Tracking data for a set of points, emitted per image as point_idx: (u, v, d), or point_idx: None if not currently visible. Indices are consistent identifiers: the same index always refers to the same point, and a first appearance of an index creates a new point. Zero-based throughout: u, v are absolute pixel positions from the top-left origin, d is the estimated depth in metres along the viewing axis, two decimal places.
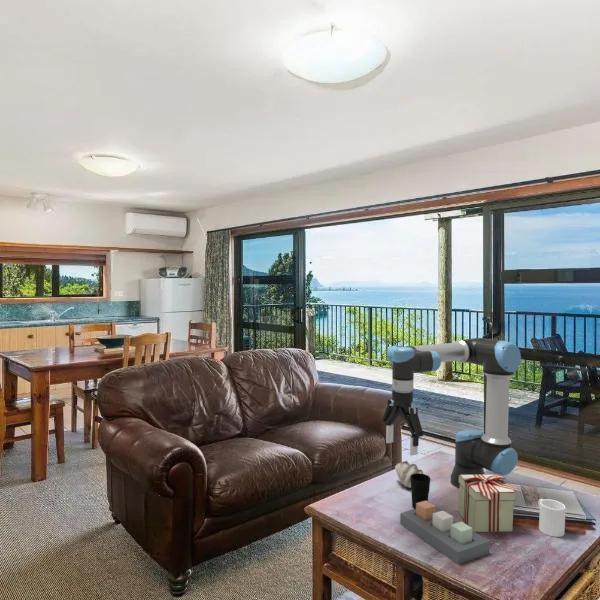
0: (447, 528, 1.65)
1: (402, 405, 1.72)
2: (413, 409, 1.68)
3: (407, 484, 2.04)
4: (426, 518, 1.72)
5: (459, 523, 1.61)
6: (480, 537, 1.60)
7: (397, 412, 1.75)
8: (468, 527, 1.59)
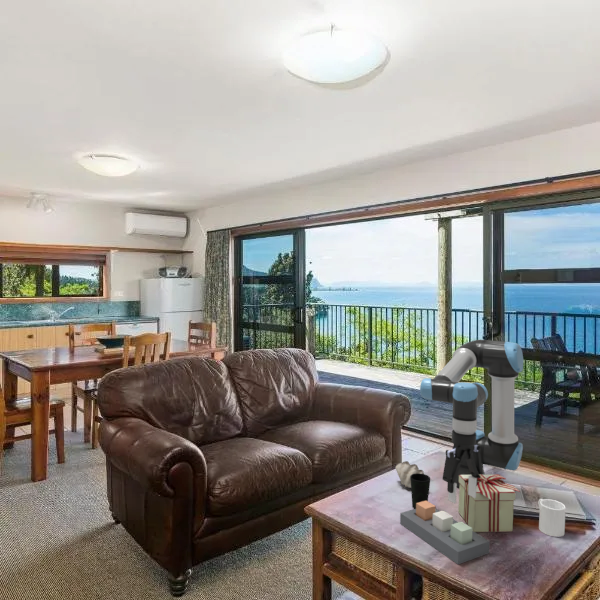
0: (447, 528, 1.65)
1: None
2: (447, 452, 1.55)
3: (408, 484, 2.04)
4: (426, 518, 1.72)
5: (459, 523, 1.61)
6: (480, 537, 1.60)
7: None
8: (468, 527, 1.59)
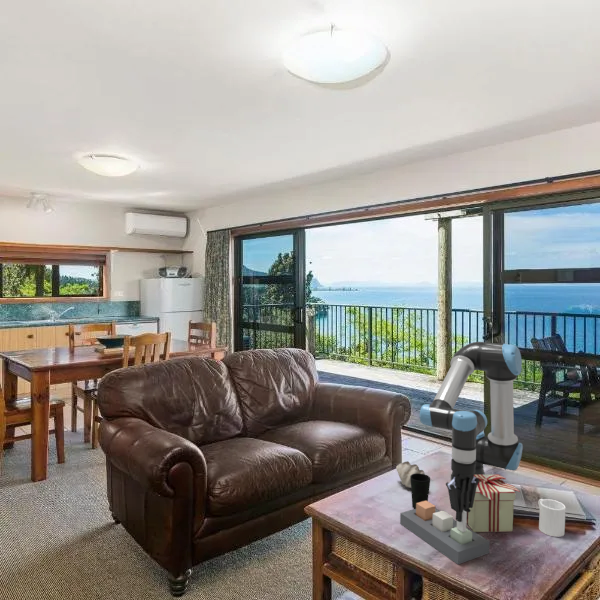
0: (447, 528, 1.65)
1: None
2: (447, 485, 1.56)
3: (408, 484, 2.04)
4: (426, 518, 1.72)
5: None
6: (480, 537, 1.60)
7: None
8: (468, 531, 1.59)
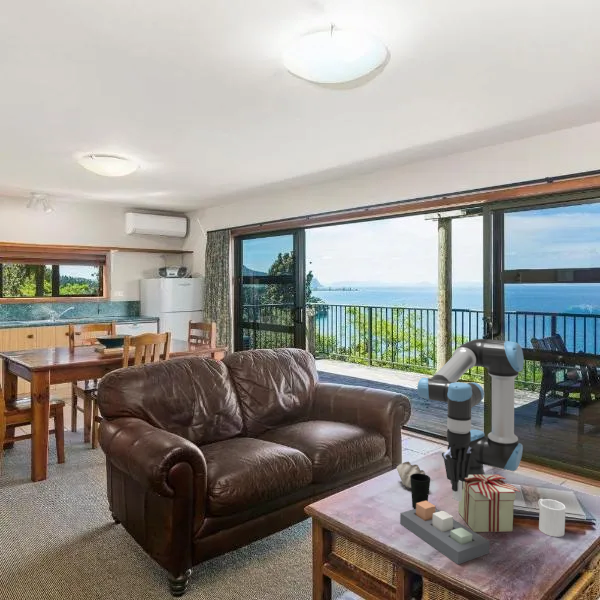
0: (447, 528, 1.65)
1: None
2: (443, 455, 1.58)
3: (409, 485, 2.03)
4: (426, 518, 1.72)
5: (459, 529, 1.61)
6: (480, 537, 1.60)
7: None
8: (468, 533, 1.59)
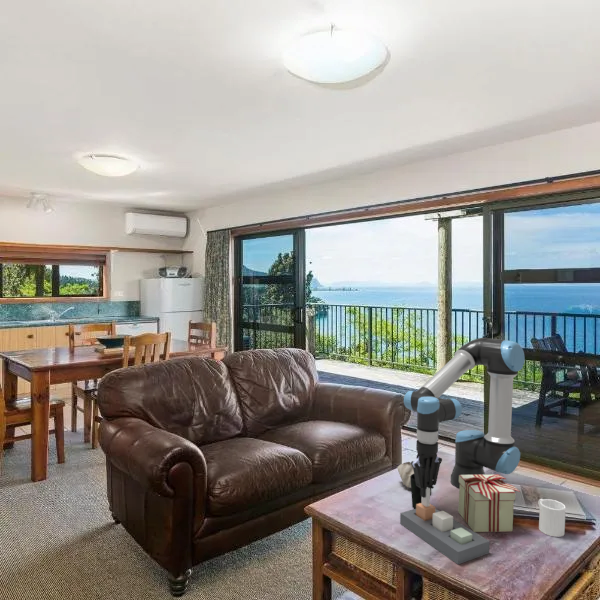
0: (447, 528, 1.65)
1: None
2: (412, 464, 1.71)
3: (409, 485, 2.03)
4: (426, 519, 1.72)
5: (459, 529, 1.61)
6: (480, 537, 1.60)
7: None
8: (468, 533, 1.59)
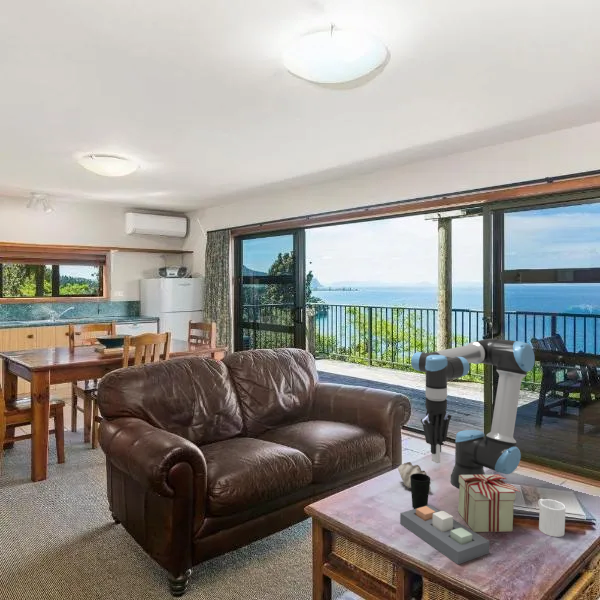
0: (447, 528, 1.65)
1: None
2: (422, 421, 1.73)
3: (410, 485, 2.03)
4: None
5: (459, 529, 1.61)
6: (480, 537, 1.60)
7: None
8: (468, 533, 1.59)
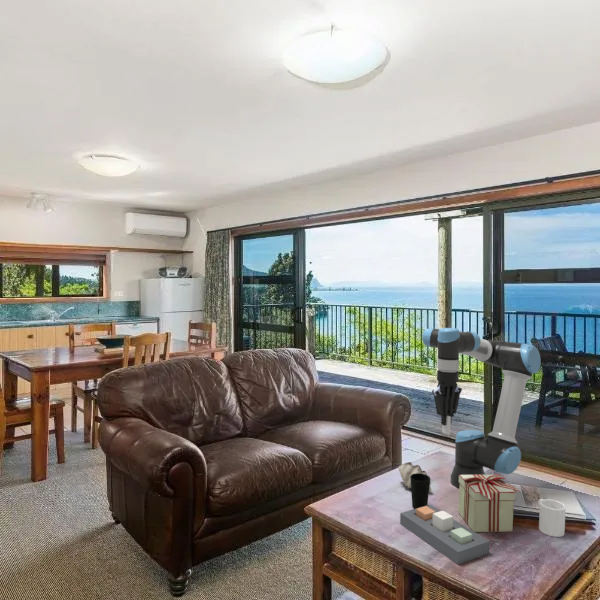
0: (447, 528, 1.65)
1: None
2: (433, 392, 1.75)
3: (410, 485, 2.03)
4: None
5: (459, 529, 1.61)
6: (480, 537, 1.60)
7: None
8: (468, 533, 1.59)
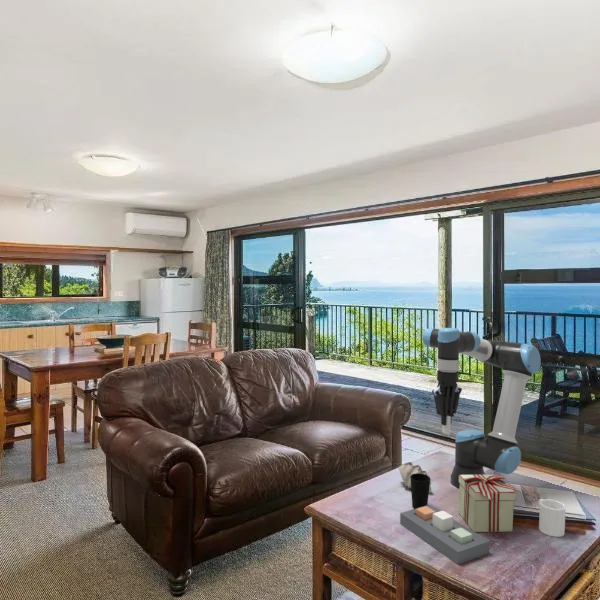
0: (447, 528, 1.65)
1: None
2: (433, 392, 1.75)
3: None
4: None
5: (459, 529, 1.61)
6: (480, 537, 1.60)
7: None
8: (468, 533, 1.59)
